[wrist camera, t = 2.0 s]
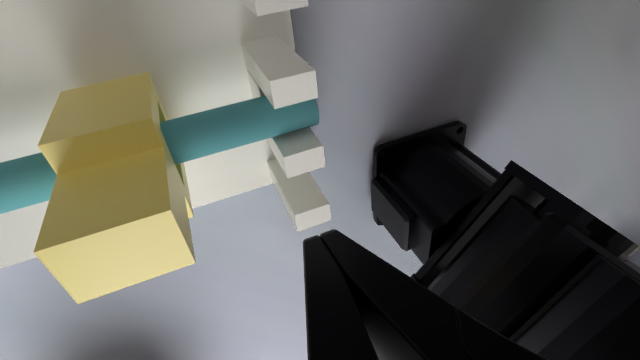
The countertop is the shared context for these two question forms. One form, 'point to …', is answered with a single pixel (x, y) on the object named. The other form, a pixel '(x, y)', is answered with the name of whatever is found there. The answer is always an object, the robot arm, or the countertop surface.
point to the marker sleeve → (112, 190)
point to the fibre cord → (171, 143)
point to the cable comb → (161, 88)
